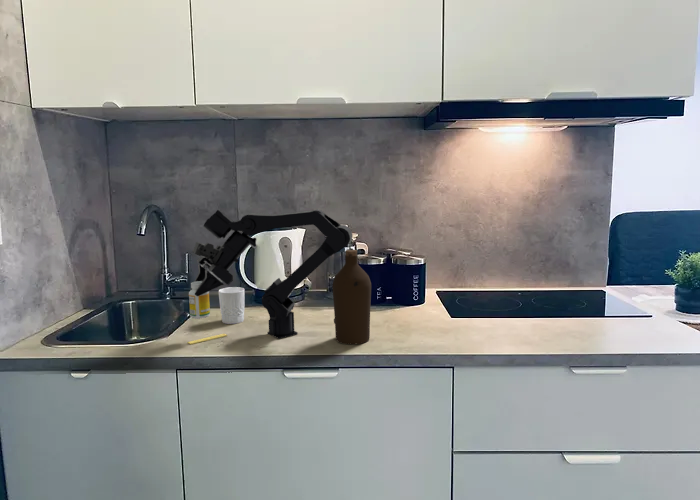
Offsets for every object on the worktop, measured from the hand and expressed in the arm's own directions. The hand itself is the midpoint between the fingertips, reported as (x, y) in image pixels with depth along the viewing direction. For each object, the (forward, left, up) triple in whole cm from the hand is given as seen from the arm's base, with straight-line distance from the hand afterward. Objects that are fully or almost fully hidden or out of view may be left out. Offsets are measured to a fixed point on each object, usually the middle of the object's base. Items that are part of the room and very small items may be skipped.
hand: (193, 293), depth 146 cm
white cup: (-17, -10, -14) cm, 24 cm away
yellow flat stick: (-3, +1, -14) cm, 14 cm away
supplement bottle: (-1, 0, -7) cm, 7 cm away
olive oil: (-33, +29, -14) cm, 46 cm away
